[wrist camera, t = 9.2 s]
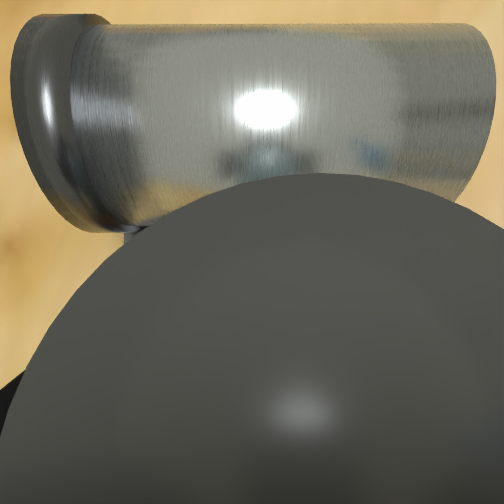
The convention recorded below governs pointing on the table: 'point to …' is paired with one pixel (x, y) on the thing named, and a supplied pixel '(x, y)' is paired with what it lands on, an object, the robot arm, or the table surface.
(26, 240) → the table surface
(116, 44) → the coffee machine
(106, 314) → the grey-capped teal cylinder
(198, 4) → the table surface
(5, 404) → the robot arm
